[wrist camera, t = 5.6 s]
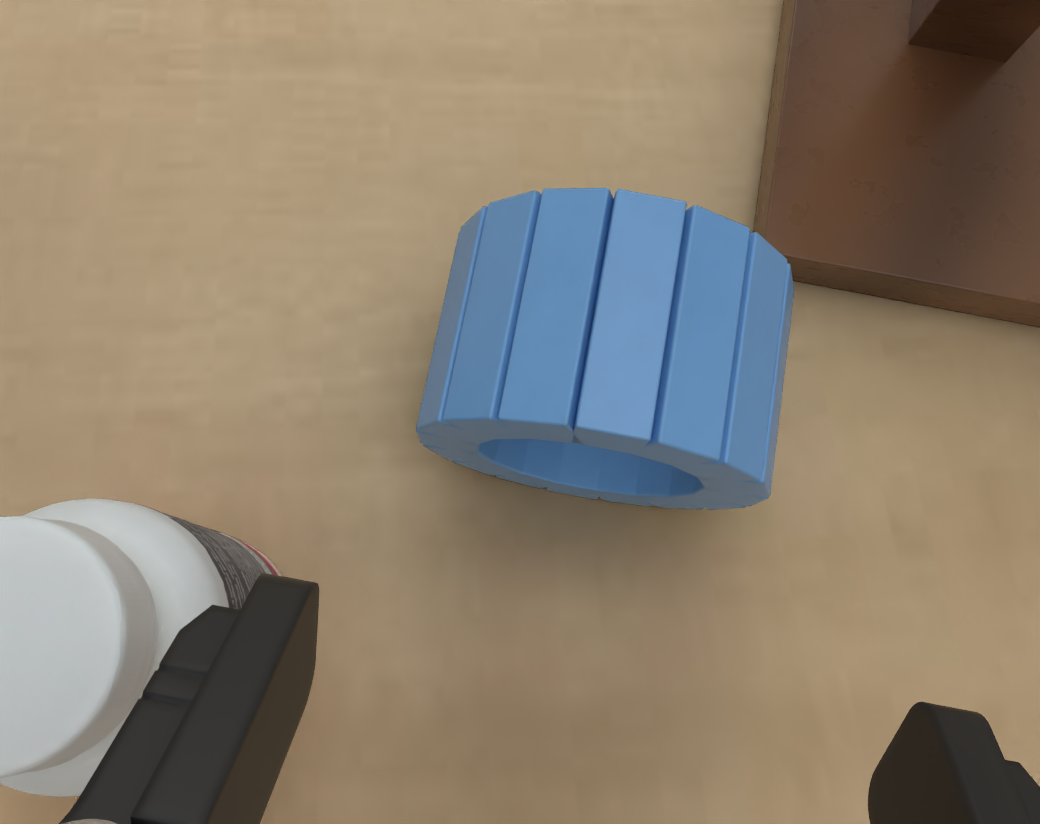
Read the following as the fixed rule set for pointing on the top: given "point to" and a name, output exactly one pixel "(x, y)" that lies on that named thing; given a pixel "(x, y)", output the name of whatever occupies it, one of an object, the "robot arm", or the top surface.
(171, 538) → the pill bottle
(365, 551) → the top surface
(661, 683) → the top surface
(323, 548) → the top surface
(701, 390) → the tape roll
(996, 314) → the tape stand
